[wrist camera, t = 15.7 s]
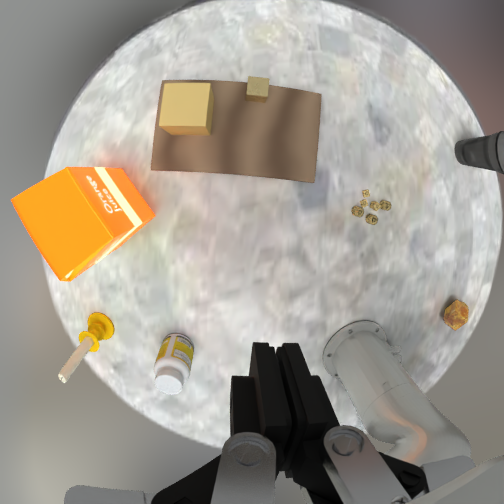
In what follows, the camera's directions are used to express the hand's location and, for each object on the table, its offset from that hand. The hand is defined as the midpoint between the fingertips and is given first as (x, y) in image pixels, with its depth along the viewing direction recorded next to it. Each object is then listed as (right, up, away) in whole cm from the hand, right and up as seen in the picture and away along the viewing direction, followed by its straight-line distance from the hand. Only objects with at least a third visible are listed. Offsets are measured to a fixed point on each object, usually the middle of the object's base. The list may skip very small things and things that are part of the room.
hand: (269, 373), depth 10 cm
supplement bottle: (-13, -11, +33) cm, 37 cm away
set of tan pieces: (+17, +11, +29) cm, 36 cm away
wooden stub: (0, +26, +22) cm, 34 cm away
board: (-3, +21, +24) cm, 32 cm away
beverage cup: (+38, +23, +27) cm, 52 cm away
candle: (-27, -8, +31) cm, 41 cm away
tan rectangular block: (-8, +22, +22) cm, 33 cm away
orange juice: (-20, +11, +26) cm, 34 cm away
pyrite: (+41, -7, +35) cm, 55 cm away
